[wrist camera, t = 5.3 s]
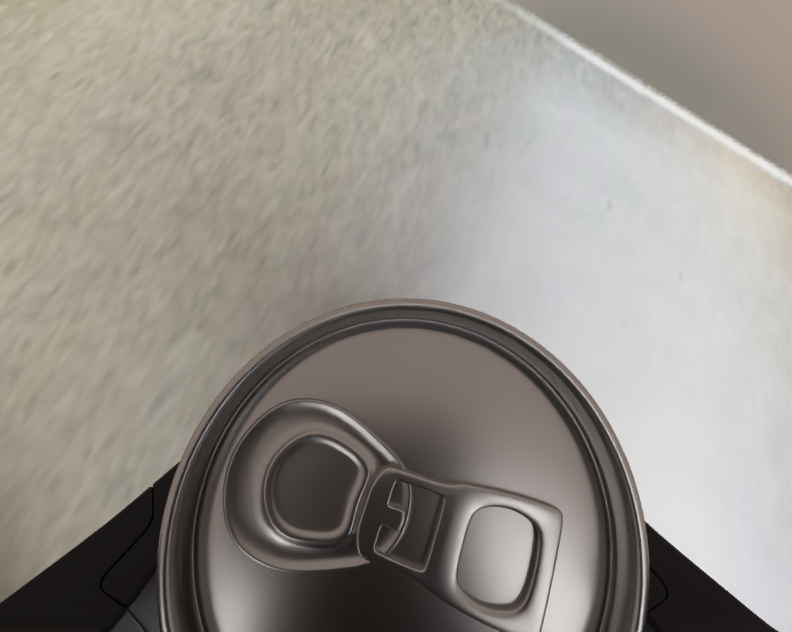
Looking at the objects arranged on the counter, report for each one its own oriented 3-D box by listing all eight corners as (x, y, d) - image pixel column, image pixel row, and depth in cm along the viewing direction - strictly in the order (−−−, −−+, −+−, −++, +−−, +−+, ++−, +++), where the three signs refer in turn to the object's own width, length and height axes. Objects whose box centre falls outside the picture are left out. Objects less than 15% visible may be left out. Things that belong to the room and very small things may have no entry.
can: (346, 342, 16) (263, 204, 5) (475, 387, 16) (719, 359, 5) (292, 481, 15) (-19, 777, 3) (434, 533, 15) (640, 1052, 3)
